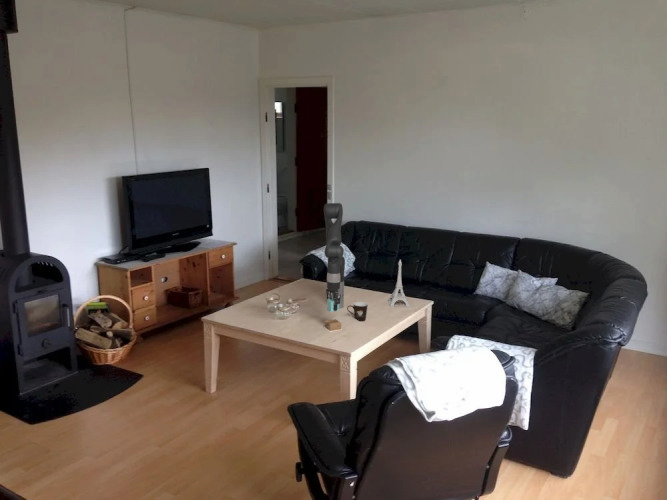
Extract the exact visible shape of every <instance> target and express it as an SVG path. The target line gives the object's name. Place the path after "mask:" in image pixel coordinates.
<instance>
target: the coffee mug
mask: <svg viewBox="0 0 667 500" xmlns="http://www.w3.org/2000/svg"><path fill="white" fill-rule="evenodd" d="M368 305H369V304H368V303H367V302H364V301H356V302H353V305H348V306H347V311H348V312H349V313H350V314H351V315H352V316H354V319H355V320H356V321H357V322H365V321H366V317H367V313H368ZM349 307H351V308H352V309H353V312H352V311H350V310H349Z"/></svg>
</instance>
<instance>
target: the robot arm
mask: <svg viewBox="0 0 667 500" xmlns="http://www.w3.org/2000/svg"><path fill="white" fill-rule="evenodd" d="M343 209H344V208H343V205H342V203H341V202H333V203H332V202H331V203H329V202H328V203H325V204H324V206H323V214H324V222H325V233H326V234H325V237H326V238H325V239H326V246H325V249H324V256H325V257H326V258H327V274H326V290H325V294H326V300H327V299H332V300H333V303H334V305H333V310H334V312H338V311H337V305H338V304H339V309H342V308H343V307H344V306H345V305H344V304H345V303H344V302H345V301H344V298H345V294H344V293H345V266H346V258H345V257H344V251H345V250H344V248H343V246H342V245H341V244H342V242H343V241H342V233H341V230H342V224H343V223H342V222H343V215H344V210H343ZM332 220H335V221H334V222H333V221H332ZM334 298H335V299H334Z"/></svg>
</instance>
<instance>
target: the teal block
mask: <svg viewBox="0 0 667 500" xmlns="http://www.w3.org/2000/svg"><path fill="white" fill-rule="evenodd" d="M334 299H335V298H334ZM326 301H327V302H326V310H328V311H329V312H330V313H334V312H335V311H334V310H333V305H334V303H333V300H332V299H327V298H326ZM339 311H340V308H339V304H338V305H337V311H336V312H339Z"/></svg>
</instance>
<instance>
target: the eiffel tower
mask: <svg viewBox="0 0 667 500" xmlns="http://www.w3.org/2000/svg"><path fill="white" fill-rule="evenodd" d="M397 265H398V272H397V278H396V280H397V281H396V284H395V289H394V290H393V292H392V293H391V295H390V297H388V299H387V300H386V302H388V303H390V304H389V305H388V306H389V307H390V308H394V307H395V303H396V302H397V301H399V300H400V301H402V302H403V303H404V304H405V307H407V308H409V307H411V305H410V304H409V301H408V300H407V298H406V297H407V295H405V293H404V290H403V283H402V266H403V265H402V259H399V261H398V263H397Z"/></svg>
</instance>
